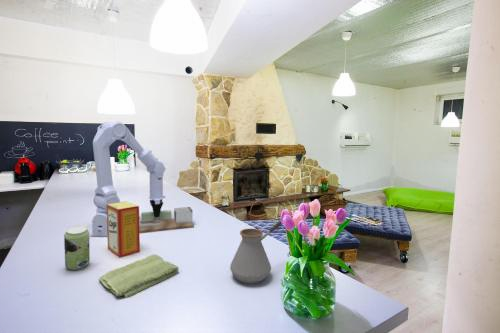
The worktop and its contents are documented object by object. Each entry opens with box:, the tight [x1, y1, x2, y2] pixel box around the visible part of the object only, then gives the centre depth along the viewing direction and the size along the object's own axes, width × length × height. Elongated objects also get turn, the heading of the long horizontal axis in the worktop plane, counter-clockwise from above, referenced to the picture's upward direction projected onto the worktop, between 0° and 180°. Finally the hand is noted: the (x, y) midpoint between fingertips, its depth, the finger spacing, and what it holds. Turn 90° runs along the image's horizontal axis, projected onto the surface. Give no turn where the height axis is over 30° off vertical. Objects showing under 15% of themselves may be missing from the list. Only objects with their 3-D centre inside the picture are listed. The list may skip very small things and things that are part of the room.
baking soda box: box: [107, 200, 141, 259], centre depth 89 cm, size 10×6×16 cm
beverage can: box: [63, 225, 91, 271], centre depth 77 cm, size 6×7×12 cm
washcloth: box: [98, 254, 179, 299], centre depth 73 cm, size 13×18×3 cm
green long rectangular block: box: [140, 209, 172, 220], centre depth 125 cm, size 13×3×4 cm, turn 113°
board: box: [139, 218, 195, 234], centre depth 116 cm, size 22×12×1 cm, turn 113°
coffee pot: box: [229, 220, 283, 285], centre depth 77 cm, size 21×12×15 cm, turn 130°
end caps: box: [139, 206, 194, 228], centre depth 116 cm, size 22×6×6 cm, turn 113°
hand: (156, 215), depth 125 cm, fingers closed on green long rectangular block, 3 cm apart
